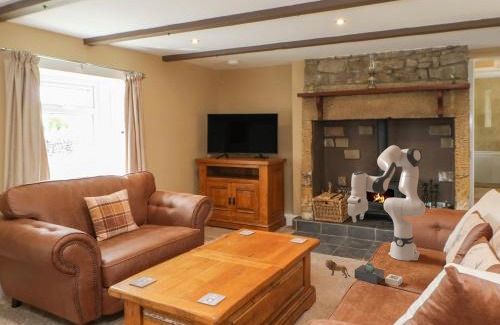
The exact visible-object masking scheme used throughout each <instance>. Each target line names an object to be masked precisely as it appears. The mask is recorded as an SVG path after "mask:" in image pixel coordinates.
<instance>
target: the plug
mask: <svg viewBox="0 0 500 325" xmlns="http://www.w3.org/2000/svg"><path fill="white" fill-rule="evenodd" d="M365 266H366V271H369V272H372V271H373V268H374V264H373V262H369V261H367V263H366V265H365Z"/></svg>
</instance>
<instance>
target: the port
mask: <svg viewBox="0 0 500 325" xmlns="http://www.w3.org/2000/svg"><path fill="white" fill-rule="evenodd" d="M354 279H356V280H360V281H363V282H367V283H371V284H375V285H378V284H379V283H380V282H381V281H383V280H385V270H384V269H382V268H381V269H380V268H376V267H373V271H372V272H369V271H366V265H364V264H361V265H360V266H358V267H356V268H355V269H354Z"/></svg>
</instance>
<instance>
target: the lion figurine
mask: <svg viewBox="0 0 500 325" xmlns="http://www.w3.org/2000/svg"><path fill="white" fill-rule="evenodd" d="M324 264H325V267H326V268H328V270H329V271H331V275H330V276H334V275H335V271H336V272H341V273H342V274H341V276H343V277H344V279H347V278H348V277H349V278H351V275H349V272H348V268H347V267H346V266H345V265H344V264H337V263H336V262H335V261H334V260H332V259H326V260H325V263H324Z"/></svg>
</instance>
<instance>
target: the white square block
mask: <svg viewBox="0 0 500 325" xmlns="http://www.w3.org/2000/svg"><path fill="white" fill-rule="evenodd" d="M403 279H404V278H403V276H400V275H396V274H392V273H390V274H388V275H386V277H384V280H385V281H384V283H385V284H388V285H390V286H395V287H399V286H400V285H401V284H402V283H403Z"/></svg>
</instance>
